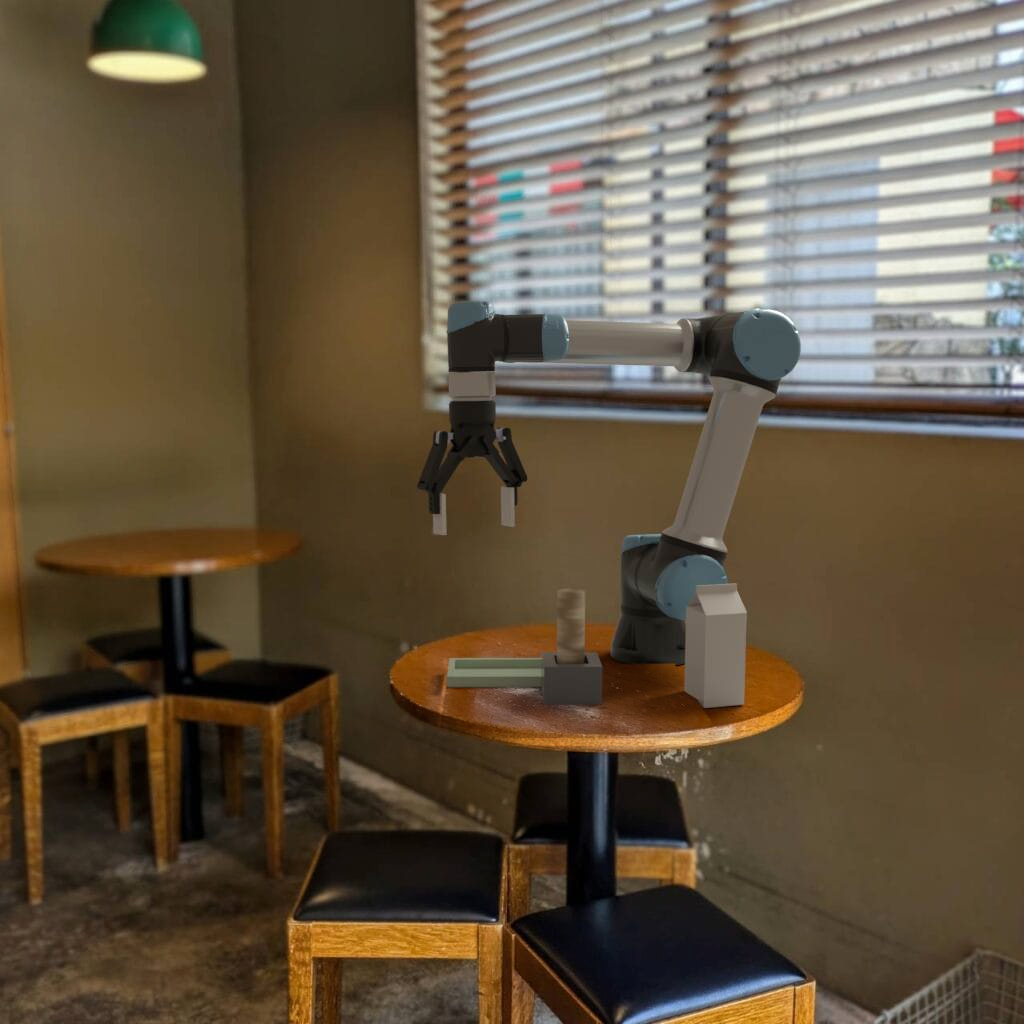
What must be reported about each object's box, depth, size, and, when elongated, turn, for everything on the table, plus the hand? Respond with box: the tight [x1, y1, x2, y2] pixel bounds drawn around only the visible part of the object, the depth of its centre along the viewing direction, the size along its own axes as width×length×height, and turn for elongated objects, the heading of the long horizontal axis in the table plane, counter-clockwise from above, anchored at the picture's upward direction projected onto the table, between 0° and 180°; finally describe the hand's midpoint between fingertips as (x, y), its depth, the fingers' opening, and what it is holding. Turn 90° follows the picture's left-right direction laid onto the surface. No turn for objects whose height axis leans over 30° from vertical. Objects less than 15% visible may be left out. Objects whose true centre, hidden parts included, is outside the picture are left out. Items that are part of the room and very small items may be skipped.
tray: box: [446, 657, 542, 688], centre depth 187 cm, size 18×12×3 cm, turn 91°
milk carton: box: [683, 583, 748, 709], centre depth 175 cm, size 7×7×19 cm
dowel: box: [556, 588, 586, 664], centre depth 175 cm, size 4×4×17 cm
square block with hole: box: [541, 651, 603, 706], centre depth 175 cm, size 9×9×7 cm
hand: (474, 530), depth 180 cm, fingers open, 13 cm apart
